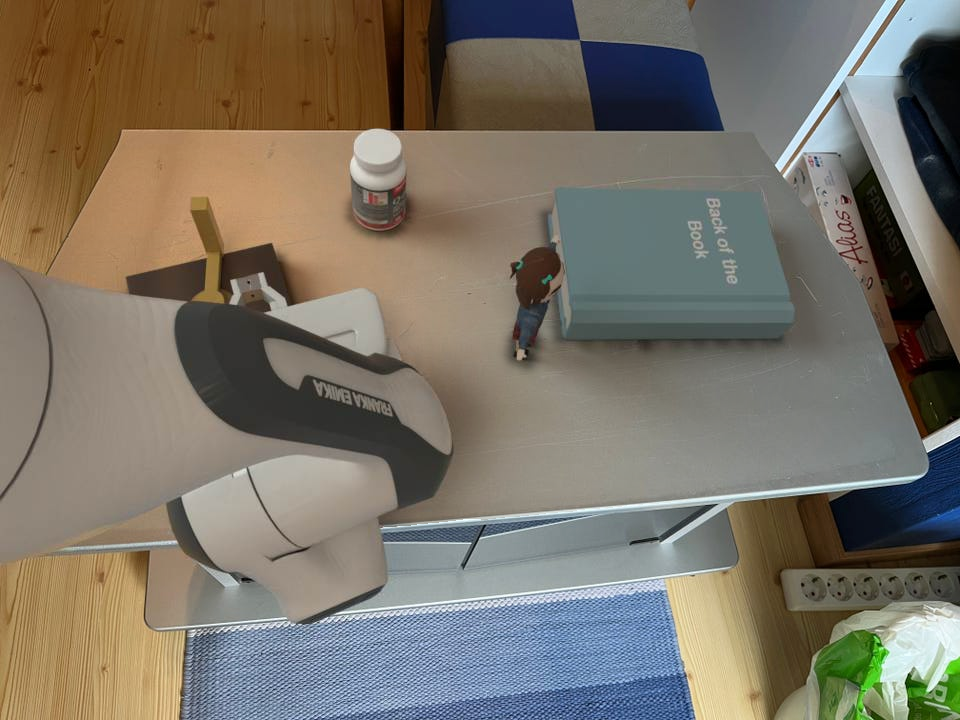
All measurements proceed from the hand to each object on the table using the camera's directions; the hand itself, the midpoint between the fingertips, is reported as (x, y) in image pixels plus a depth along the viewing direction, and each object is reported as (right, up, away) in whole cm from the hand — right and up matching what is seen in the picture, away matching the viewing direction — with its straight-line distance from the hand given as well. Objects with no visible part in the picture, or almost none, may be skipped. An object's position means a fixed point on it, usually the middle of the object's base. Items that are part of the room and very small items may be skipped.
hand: (248, 279), depth 65 cm
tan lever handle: (-5, 0, +6) cm, 8 cm away
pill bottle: (+9, +9, +16) cm, 20 cm away
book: (+40, +2, +15) cm, 43 cm away
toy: (+24, -6, +10) cm, 26 cm away
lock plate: (-5, -4, +7) cm, 9 cm away
